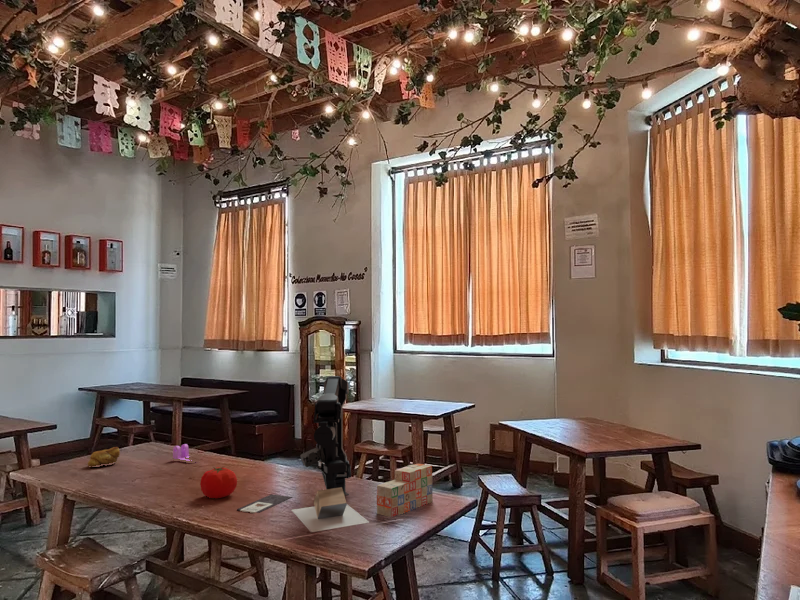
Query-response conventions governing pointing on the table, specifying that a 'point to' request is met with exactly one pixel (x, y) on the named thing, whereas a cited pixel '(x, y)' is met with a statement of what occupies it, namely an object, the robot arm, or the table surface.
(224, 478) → the tomato
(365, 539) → the table surface
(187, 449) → the purple twin post stand
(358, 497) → the table surface
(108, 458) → the bread roll
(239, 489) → the table surface
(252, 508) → the chocolate bar
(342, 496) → the beech block
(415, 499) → the stack of blocks
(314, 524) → the rubber mat
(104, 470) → the table surface
